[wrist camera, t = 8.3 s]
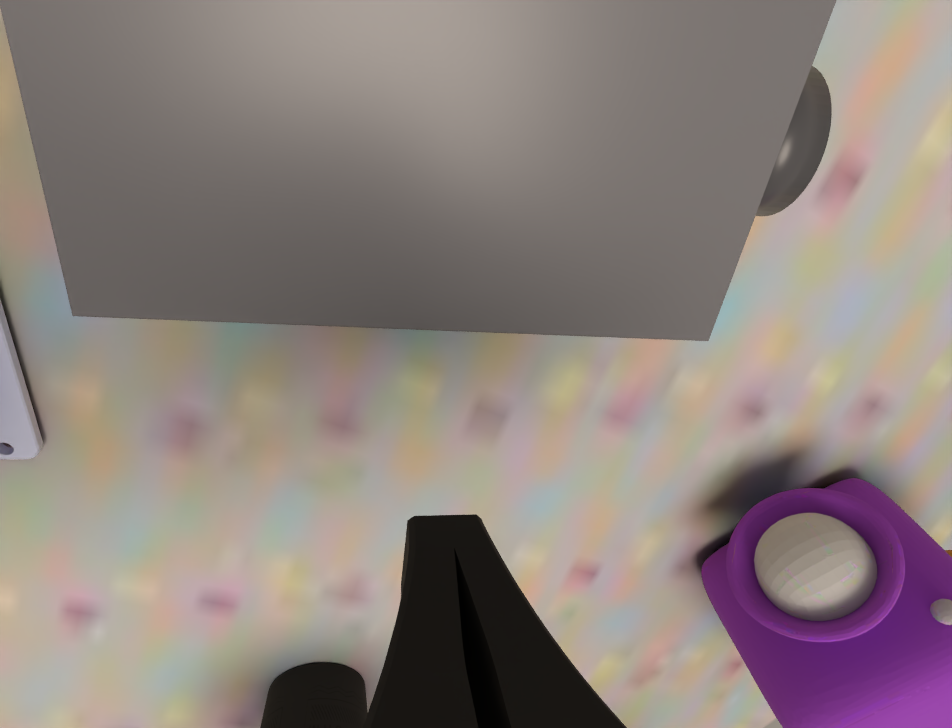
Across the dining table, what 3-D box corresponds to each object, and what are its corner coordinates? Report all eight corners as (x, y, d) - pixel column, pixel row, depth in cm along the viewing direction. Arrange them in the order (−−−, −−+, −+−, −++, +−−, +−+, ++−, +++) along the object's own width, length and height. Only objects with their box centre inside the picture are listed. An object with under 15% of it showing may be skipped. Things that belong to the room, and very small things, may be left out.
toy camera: (807, 404, 26) (1017, 603, 18) (928, 527, 32) (1126, 716, 24) (621, 551, 29) (725, 778, 21) (764, 637, 36) (888, 837, 27)
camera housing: (139, 238, 18) (72, 315, 14) (67, -218, 13) (-75, -314, 9) (681, 272, 22) (758, 343, 17) (794, -72, 16) (942, -90, 12)
